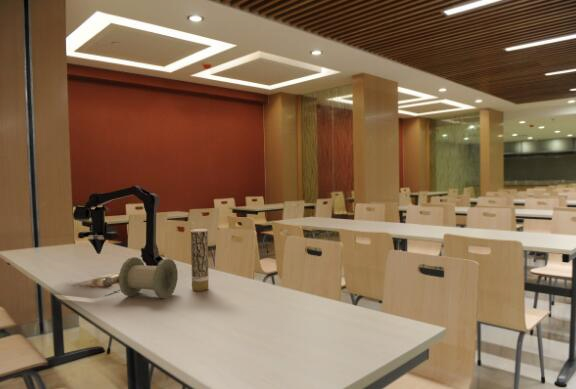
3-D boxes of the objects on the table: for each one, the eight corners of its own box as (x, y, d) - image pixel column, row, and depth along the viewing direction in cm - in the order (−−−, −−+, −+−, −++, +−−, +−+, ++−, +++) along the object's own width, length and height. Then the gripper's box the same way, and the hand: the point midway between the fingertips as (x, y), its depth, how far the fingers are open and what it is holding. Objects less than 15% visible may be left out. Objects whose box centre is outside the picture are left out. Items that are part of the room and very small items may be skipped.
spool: (177, 292, 175) (177, 256, 174) (157, 303, 160) (156, 263, 160) (142, 290, 179) (141, 254, 179) (119, 300, 165) (118, 261, 164)
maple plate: (121, 280, 190) (120, 275, 190) (102, 286, 180) (102, 280, 180) (110, 279, 192) (110, 274, 192) (91, 285, 182) (91, 279, 182)
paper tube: (204, 291, 175) (203, 231, 174) (189, 291, 176) (188, 230, 175) (211, 287, 182) (210, 229, 181) (196, 287, 183) (194, 228, 182)
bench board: (132, 283, 191) (132, 272, 190) (108, 292, 177) (107, 280, 176) (97, 280, 197) (97, 269, 197) (71, 288, 183) (70, 276, 183)
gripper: (126, 219, 203) (127, 251, 204) (94, 218, 209) (95, 250, 209) (109, 221, 192) (110, 255, 193) (76, 220, 198) (77, 253, 199)
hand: (98, 253), depth 199 cm, fingers closed
